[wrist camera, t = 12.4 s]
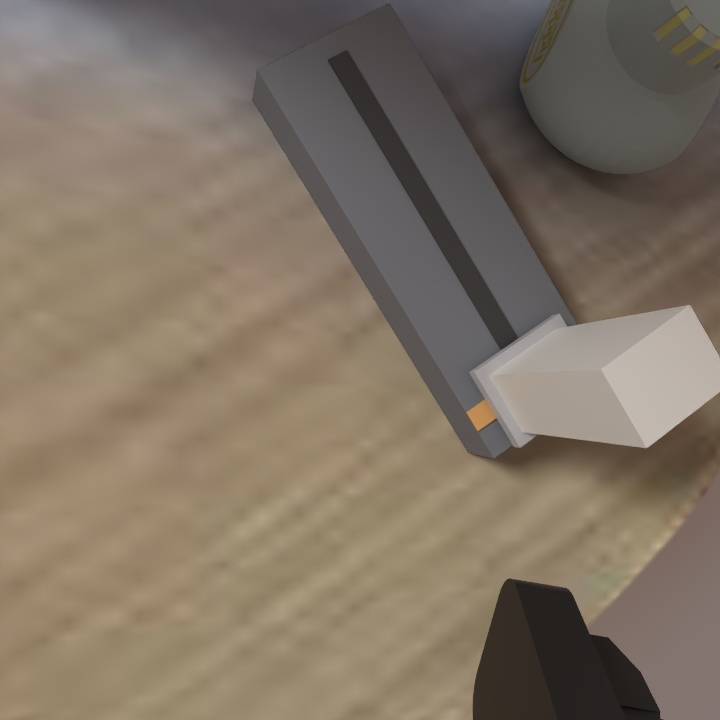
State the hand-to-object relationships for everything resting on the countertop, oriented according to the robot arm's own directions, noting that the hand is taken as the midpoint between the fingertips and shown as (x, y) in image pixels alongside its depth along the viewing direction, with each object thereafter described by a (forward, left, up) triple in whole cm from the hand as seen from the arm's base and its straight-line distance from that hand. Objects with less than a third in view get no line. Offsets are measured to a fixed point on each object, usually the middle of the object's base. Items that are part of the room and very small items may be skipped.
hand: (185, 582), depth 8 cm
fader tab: (+6, +14, -19) cm, 24 cm away
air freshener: (-5, +27, -22) cm, 35 cm away
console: (-2, +14, -22) cm, 26 cm away
